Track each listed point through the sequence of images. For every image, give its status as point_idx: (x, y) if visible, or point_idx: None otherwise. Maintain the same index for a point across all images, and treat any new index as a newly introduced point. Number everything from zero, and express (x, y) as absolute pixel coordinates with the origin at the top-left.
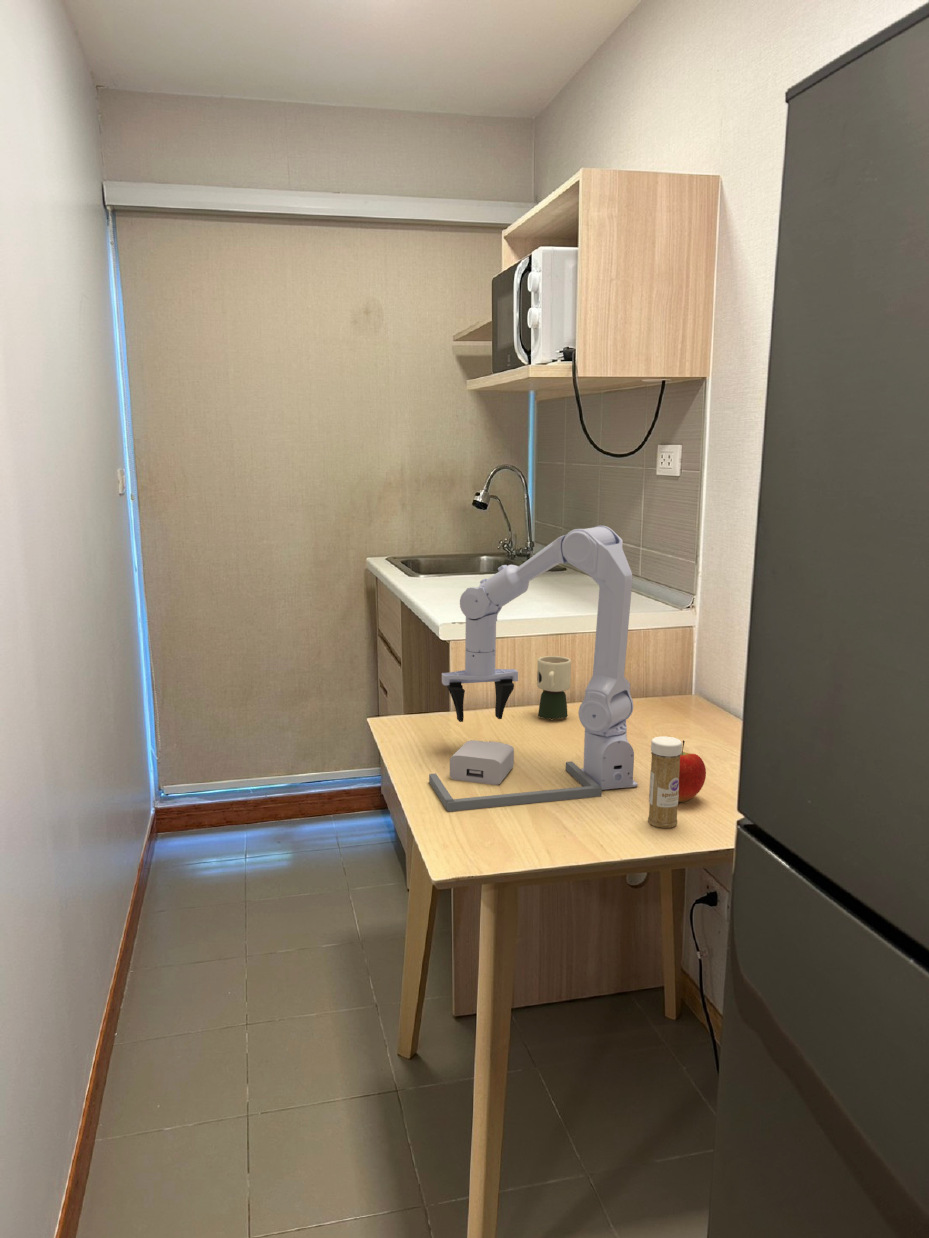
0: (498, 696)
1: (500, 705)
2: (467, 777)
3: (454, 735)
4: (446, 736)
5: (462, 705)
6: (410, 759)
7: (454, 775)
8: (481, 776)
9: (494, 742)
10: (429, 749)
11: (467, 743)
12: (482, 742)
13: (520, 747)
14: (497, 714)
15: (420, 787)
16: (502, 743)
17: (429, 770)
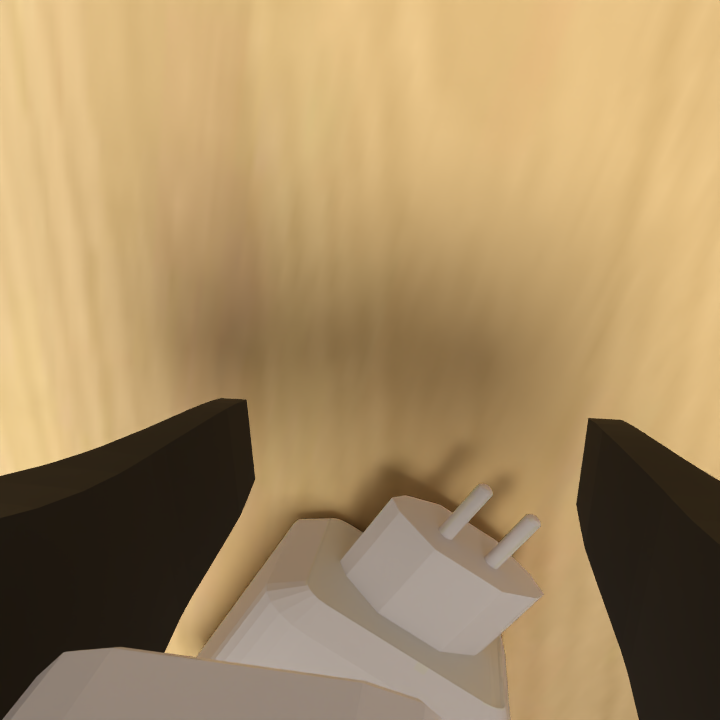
0: (665, 635)
1: (617, 637)
2: None
3: (339, 4)
4: (276, 18)
5: (174, 612)
6: (49, 394)
7: None
8: None
9: (458, 576)
10: (144, 272)
11: (259, 654)
12: (345, 675)
13: (703, 384)
14: (588, 492)
15: None
16: (504, 594)
17: None
